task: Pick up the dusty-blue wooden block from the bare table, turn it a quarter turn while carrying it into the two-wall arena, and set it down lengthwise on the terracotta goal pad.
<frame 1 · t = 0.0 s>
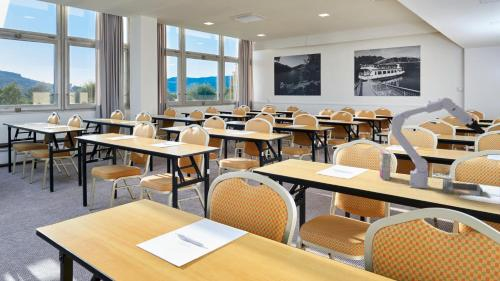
hand: (480, 131, 197), 32 cm above the table, tool tilted 50°, fingers open, 7 cm apart
blue block: (447, 191, 202), on the table
candy bar box: (384, 178, 234), on the table
arena: (465, 192, 200), on the table
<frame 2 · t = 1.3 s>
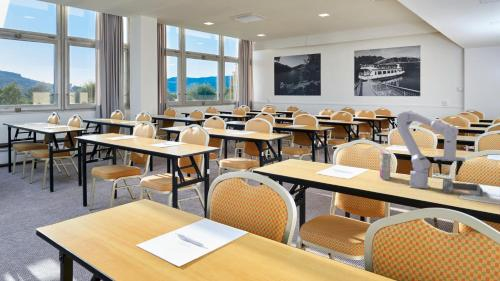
hand: (448, 174, 200), 9 cm above the table, tool pointing down, fingers open, 7 cm apart
nothing on the table moved.
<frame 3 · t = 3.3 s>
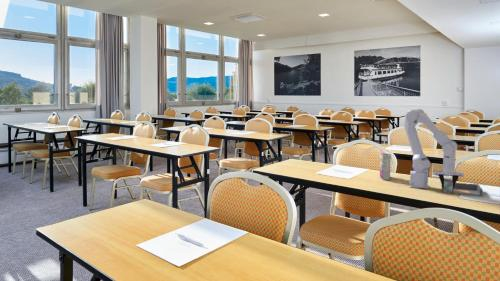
hand: (447, 188, 201), 1 cm above the table, tool pointing down, fingers closed on blue block, 4 cm apart
blue block: (447, 191, 202), on the table, touching gripper
everything else where it was.
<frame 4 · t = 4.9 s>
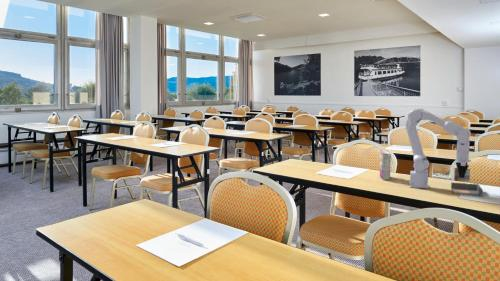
hand: (461, 176, 199), 8 cm above the table, tool pointing down, fingers closed on blue block, 4 cm apart
blue block: (461, 180, 199), point 7 cm above the table, touching gripper
everything else where it was.
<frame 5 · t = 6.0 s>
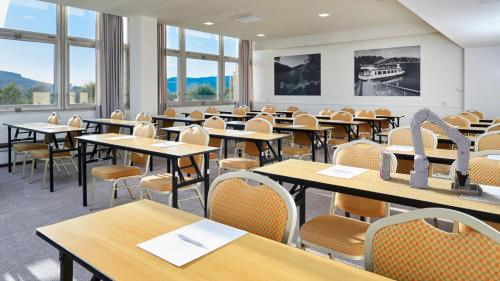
hand: (461, 185, 199), 4 cm above the table, tool pointing down, fingers closed on blue block, 4 cm apart
blue block: (461, 188, 199), point 2 cm above the table, touching gripper
everything else where it was.
when the fingers open (3 cm above the table, at t = 6.9 s): blue block drops 1 cm, resting on arena.
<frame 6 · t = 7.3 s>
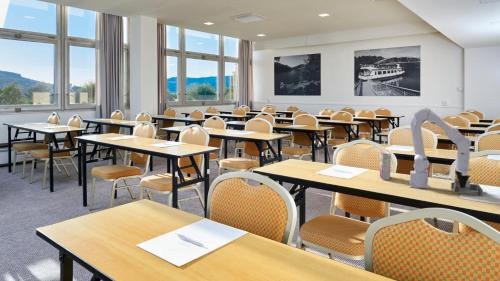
hand: (461, 186, 199), 3 cm above the table, tool pointing down, fingers open, 7 cm apart
blue block: (461, 191, 200), point 1 cm above the table, touching arena
everything else where it was.
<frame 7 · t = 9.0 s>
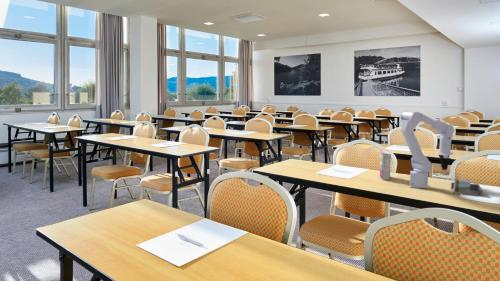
hand: (443, 168, 215), 9 cm above the table, tool pointing down, fingers open, 7 cm apart
nothing on the table moved.
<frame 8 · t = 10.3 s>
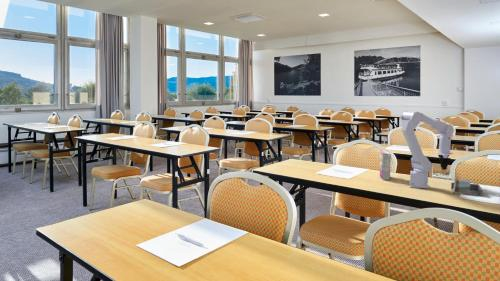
hand: (443, 168, 215), 9 cm above the table, tool pointing down, fingers open, 7 cm apart
nothing on the table moved.
at the end: blue block 0.3 cm from the target spot on the arena, point 0.5 cm above the arena's base; blue block tilted 0°; the gripper is holding nothing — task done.
